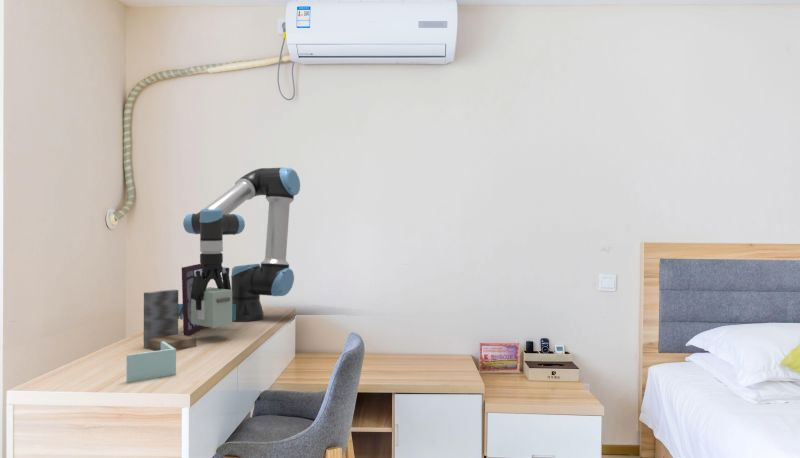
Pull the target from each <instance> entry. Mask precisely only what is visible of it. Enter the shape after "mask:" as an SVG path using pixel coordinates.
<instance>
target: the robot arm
mask: <svg viewBox="0 0 800 458" xmlns="http://www.w3.org/2000/svg"><path fill="white" fill-rule="evenodd" d="M300 190H301V181H300V177H299V175H298V173H297V172H296V170H294V169H293V168H290V167H260V168H257V169H254V170H252V171H250V172H248V173H246V174H244V175H243V176H241V177H239V179H237V180H236V181H235V183H234V185H233V186H232V187H231V188H229V189H228V190H227V191H225V192H224V193H223V194H222V195H220V196H218V197H217V198H216V199H215V200H214V201H212V202H211V203H209V204H208V205H207V206H206V207H204V208H202V209H201V210H200V211H199V212H197V213H188V214H186V215H185V217H184V218H183V221H182V223H183V229H184V230H185V232H186V233H188V234H193V235H199V236H200V237H199V245H200V246H199V251H200V252H201V253H200V254H199V264H201V268H200V270H193V283H192V290H191V297H190V298H191V299H194V300H196V310H198V319H201V320H204V301H203V300H202V299H203V296H204V291H205V290H206V288H208V285H209V283H210V281H211V280H213V281H214V282H215V286H216V288H218V289H228V290H232V304H235V305H236V320H235V321H233V317H232V322H254V321H259V320H263V319H264V317H265V314H264V311H263V306H262V304H261V300H260V298H261V297H260V296H270V297H284V296H287V294H289V292H290V291H291V290H292V288H293V285H294V282H295V281H294V280H295V274H294V271H293V270H292V269H291V268H290V263H289V262H288V260H287V248H288V236H289V235H288V233H289V221H290V219H289V218H290V205H291V204H292V202H293V201H294V199H295V196H297V195H299V193H300ZM257 196H265V199H266V201H267V202H268V210H267V226H266V227H267V228H266V240H265V241H266V243H265V253H264V254H265V255H264V260H263V261H261V262H260V263H250V264H244V265H243V264H242V265H236V266H233V267H232V269H231V275H230V267H225V266H224V267H223V265H222V264H223V261H224V256H223V255H224V254H223V253H222V252H223V251H224V250H223V249H224V248H223V247H224V246H223V245H224V243H223V239H224V238H223V236H225V235H226V236H229V235H230V236H231V235H234V236H235V235H239V234H241V233H242V232H243V231H244V230H245V225H246V223H245V219H244V217H243V216H242V215H240V214H236V213H233V212H234V211H235V210H236V209H237V208H238V207H240V206H241V205H242V204H243V203H244V202H245V201H249V200H251V199H253V198H254V197H257ZM201 273H202V274H201ZM201 275H202V277H201ZM230 278H231V279H230ZM200 280H201V283H200ZM230 281H231V282H230Z"/></svg>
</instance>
